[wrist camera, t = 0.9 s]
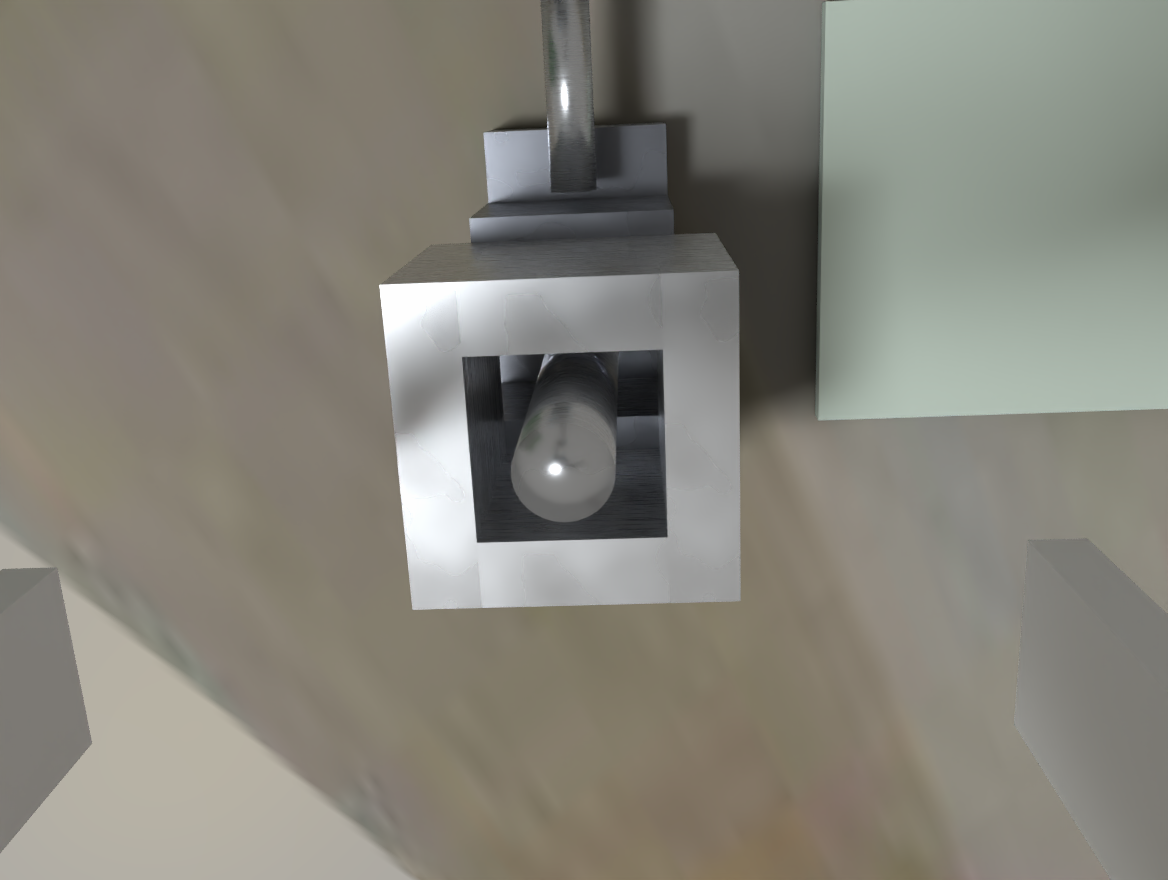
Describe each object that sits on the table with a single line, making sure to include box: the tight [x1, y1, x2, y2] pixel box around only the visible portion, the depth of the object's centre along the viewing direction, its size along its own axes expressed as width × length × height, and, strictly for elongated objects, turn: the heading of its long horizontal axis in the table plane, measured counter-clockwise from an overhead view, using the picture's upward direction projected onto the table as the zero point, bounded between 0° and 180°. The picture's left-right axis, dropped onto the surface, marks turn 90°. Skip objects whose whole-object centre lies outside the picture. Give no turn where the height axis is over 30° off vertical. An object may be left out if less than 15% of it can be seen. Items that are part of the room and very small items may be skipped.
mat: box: [815, 0, 1168, 420], centre depth 32 cm, size 12×12×1 cm
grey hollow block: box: [380, 233, 740, 610], centre depth 25 cm, size 7×7×6 cm
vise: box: [469, 0, 674, 522], centre depth 27 cm, size 16×5×14 cm, turn 3°
